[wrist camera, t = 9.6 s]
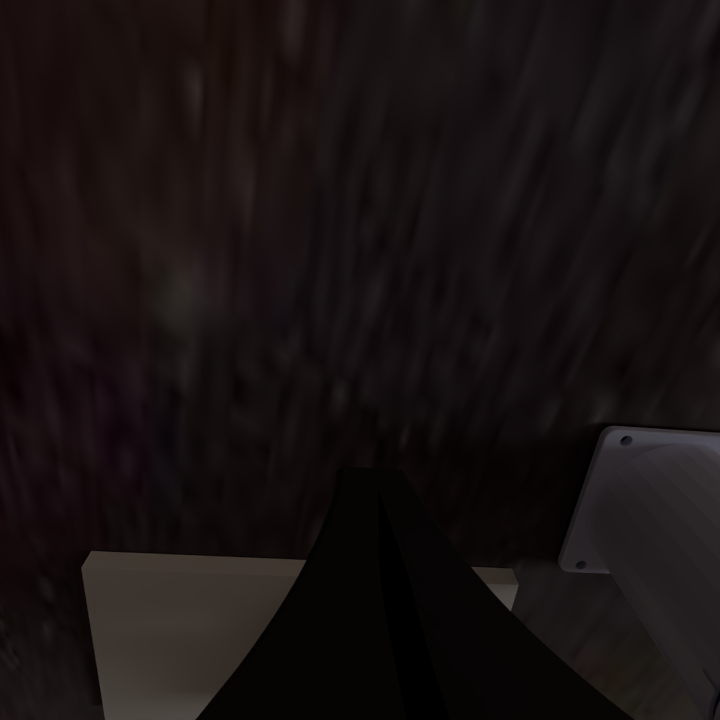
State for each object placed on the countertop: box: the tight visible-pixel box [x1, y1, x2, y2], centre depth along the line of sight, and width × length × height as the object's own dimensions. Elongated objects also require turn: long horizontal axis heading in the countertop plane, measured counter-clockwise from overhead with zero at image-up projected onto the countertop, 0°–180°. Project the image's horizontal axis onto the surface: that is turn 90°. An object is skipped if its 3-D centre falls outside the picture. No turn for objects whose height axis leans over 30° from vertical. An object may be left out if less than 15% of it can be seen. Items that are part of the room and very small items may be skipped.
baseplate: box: [81, 551, 519, 720], centre depth 26 cm, size 20×11×1 cm, turn 84°
